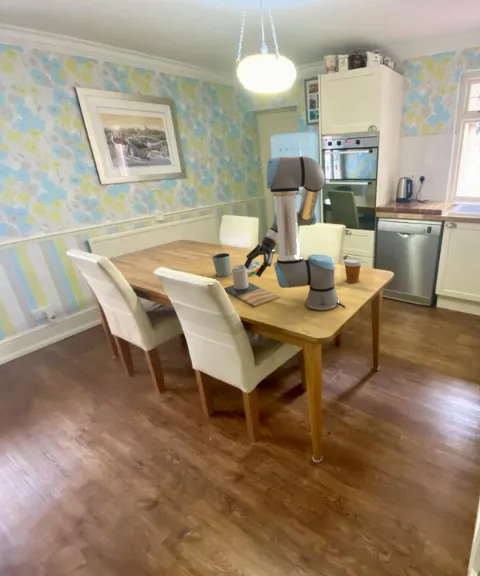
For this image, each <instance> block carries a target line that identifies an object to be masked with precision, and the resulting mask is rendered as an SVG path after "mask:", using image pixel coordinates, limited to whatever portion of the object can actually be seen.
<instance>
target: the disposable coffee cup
mask: <svg viewBox="0 0 480 576" xmlns="http://www.w3.org/2000/svg"><path fill="white" fill-rule="evenodd" d="M343 264H344V269H345V276H346V277H345V278H346V282H347V283H349V284H355V283H358V282H359V279H360V272H361V265H362V260H361V259H360V258H358V257H348V258H346V259H344V262H343Z"/></svg>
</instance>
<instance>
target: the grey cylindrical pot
mask: <svg viewBox="0 0 480 576" xmlns="http://www.w3.org/2000/svg"><path fill="white" fill-rule="evenodd" d="M211 259H212V263H213V265H214V270H215V273H216V276H217V277H218V278H225V277H229V276H231V275H232V268H231V267H232V265H231V254H230V253H227V252H220V253H215V254H213V255H212V256H211Z"/></svg>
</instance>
